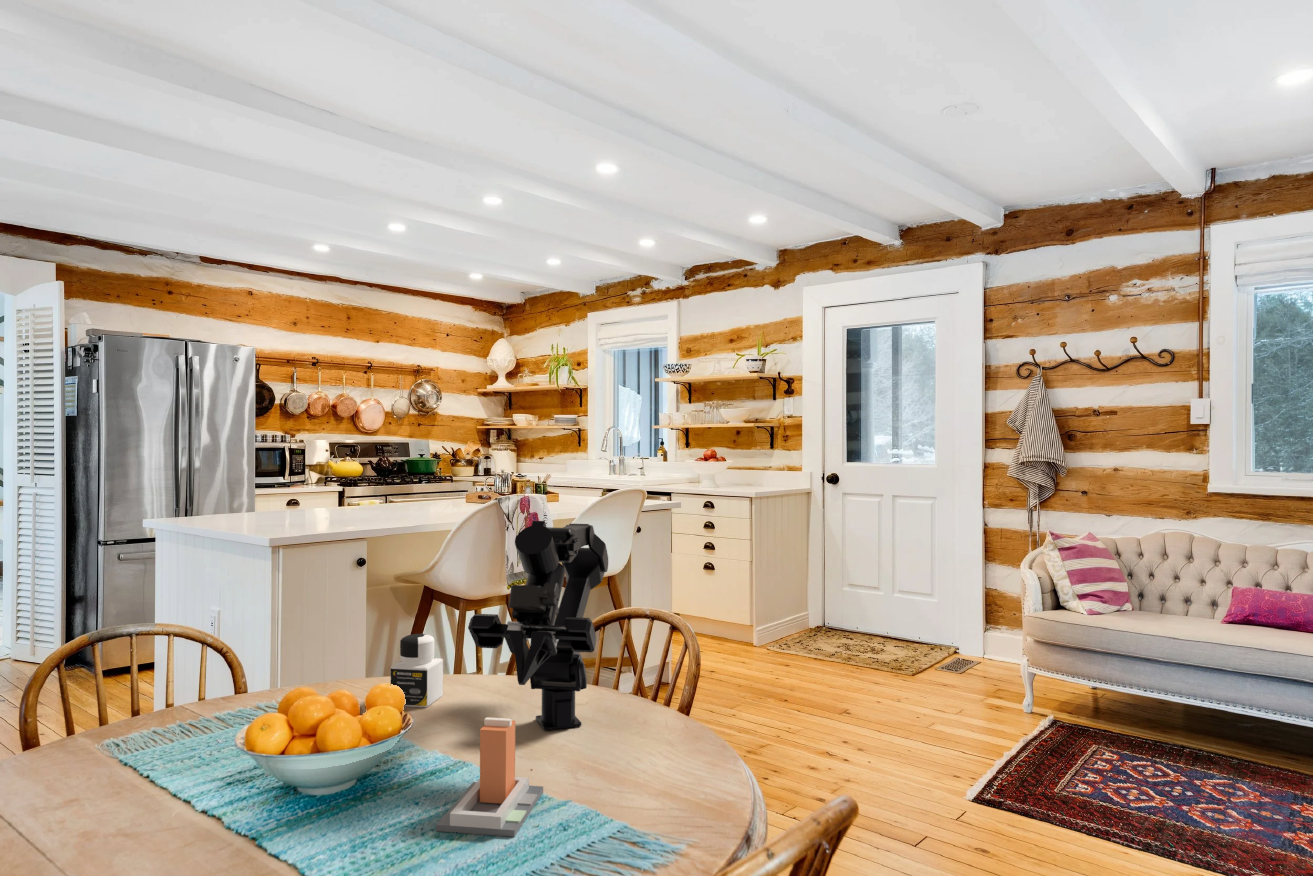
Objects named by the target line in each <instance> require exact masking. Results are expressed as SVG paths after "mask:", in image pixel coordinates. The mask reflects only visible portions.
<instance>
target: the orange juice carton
mask: <svg viewBox="0 0 1313 876" xmlns="http://www.w3.org/2000/svg"><path fill="white" fill-rule="evenodd" d="M483 723H484V724H483V726H482V727H481V728H480V729H479V738H480V739H479V779H480V802H485V803H500V804H502V803H503V802H504V801H505V799H506V798H507V797H508V795H509V794H510V793H511V791H512V790H513V789H514V787H515V777H516V720H513V719H512V718H504V717H503V718H502V717H487V716H486V717H485V718H484V722H483Z"/></svg>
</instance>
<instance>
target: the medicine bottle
mask: <svg viewBox="0 0 1313 876" xmlns="http://www.w3.org/2000/svg"><path fill="white" fill-rule="evenodd" d="M399 644H400V645H399V647H400V648H399V650H400V651H399V653H400V654H399V658H400V659H399V660H401V661H399V662H397V663H395V664H393V665H391V666H390V685H391V684H393V685H397V686H399V687H400V688H401V689H402V690H403V692H404V694H405V699H406V704H405V706H404V707H413V708H428V707H429V706H430V705H433V704H434V703H435V702H436V701H437V700H439V699H440V698H441V697H443V695H444V693H443V692H444V680H443V679H444V659H443V658H441V657H439V658H437V657H435V638H434V637H433V636H432V635H430V634H428V633H415V634H414V633H412V634H409V635H406V636H404V637H402V638H401V639H400V642H399Z"/></svg>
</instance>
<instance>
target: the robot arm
mask: <svg viewBox="0 0 1313 876" xmlns="http://www.w3.org/2000/svg"><path fill="white" fill-rule="evenodd" d="M514 545H515V548H516V551H517V554H518V557H519V560H520V563H521V566H522V569H523V571H524V573H527V574H528V575H527V578H526V582H525V584H523V585H522V584H521V585H520V584H514V585H513V584H512V585H511V587H510V593H509V601H508V608H509V609H510V608H511V609H512V613H511V617H512V619H513V620H514V621H511V620H509V621H507V623H502V622H501V619H500V616H499V614H498V613H497V614H494V613H493V614H492V613H476V614H474V615H473V616H471V618H469V619H470V620H469V623H468V627H467V629H468V631H469V634H470V636H471V637H472V640H473V642H474V644H475V646H476V647H478V648H480V649H497V648H499V647H500V646H502V645H503V643H504V640H505V642H506V645H507V647H508V649H509V652H510V653H511V654H514V658H515V666H516V676H517V684H518V685H519V686H525V685H526V684H527V682H529V681H530V689H531V690H541V715H540V714H539V715H536V716H535V720H536V721H537V723H538V724H539V725H540V726H541V728H542V729H543V730H544V731H551V730H553V731H554V730H559V729H567V728H575V727H581V726H582V721H580V719H579V718H578V717H577V716H576V692H581V690H584V689H587V687H588V681H587V679H588V678H587V669H586V666H585V663H584V660H583V656H582V655H581V653H593V652H595V649H596V644H597V635H596V631H595V630H596V629H595V626H594V623H593V620H591V618H590V617H584V614H585V611H586V607H587V605H588V600H589V597H590V594H591V591H592V590H593V589H594V588H596V587H597V586H599V585H600V584H601V583H603V582H602V581H603V579H604V577H605V574H606V573H607V572H608V569H609V555H608V550H607V545H606V543H605V542H604V540H602V539H601V538H600V537H599V536H598V535H597V534H596V533H595V529H594V526H593V525H591V524H589V523H569V524H566V525H565V526H562V527H548V526H547V524H546V521H545V520H532V523H531V525H529V526H527V527H525V528H523V529H522V530H521V531H520V532H518V534H517V535H515V539H514ZM585 546H588V547H585ZM564 581H565V582H566V584H565V587H564V591H563V594H562V596H561V593H562V590H563V586H564ZM560 599H561V600H560ZM515 620H516V621H515ZM529 640H530V645H528V641H529Z"/></svg>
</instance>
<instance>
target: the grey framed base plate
mask: <svg viewBox="0 0 1313 876" xmlns="http://www.w3.org/2000/svg"><path fill="white" fill-rule="evenodd" d="M529 778H530V777H522V776H515V787H514V789H513V790H512V791H511V793H510V794H509V795H508V797H507V798H506V799H505V801H504V802H503V803H502V804H500V803H485V802H480V778H479V779H478V780H477V781H473V782H472V783H471V784H470V785H469V787H467V788H466V790H465V791H464V792H463V793H462V794H461V796H460V797H459V798H458V799H457V800H456V801H455V803H453V804H452V806H451V807H450V808H449V810H448V811H447V812H445V814H444V815H443V816H442V818H440V820H439V821H438V822H437V823H436V824H435V825H436V827H435V830H436V832H443V833H444V832H446V833H456V832H457V833H459V834H460V833H461V834H471V835H483V836H485V835H486V836H500V837H512V838H515V837H516V835H517V834H518V832H519V831H520V829H521V827H522V826H523V825H524V823H525V821H526V819H528V817H529V815H530V814H531V812H533V811H532V810H533V809H534V807H535V805H536V804H537V803H538V801H539V800H540V798H541V797H542V795H543V794H544V786H541V785H540V786H539V785H529V784H530V779H529Z"/></svg>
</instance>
